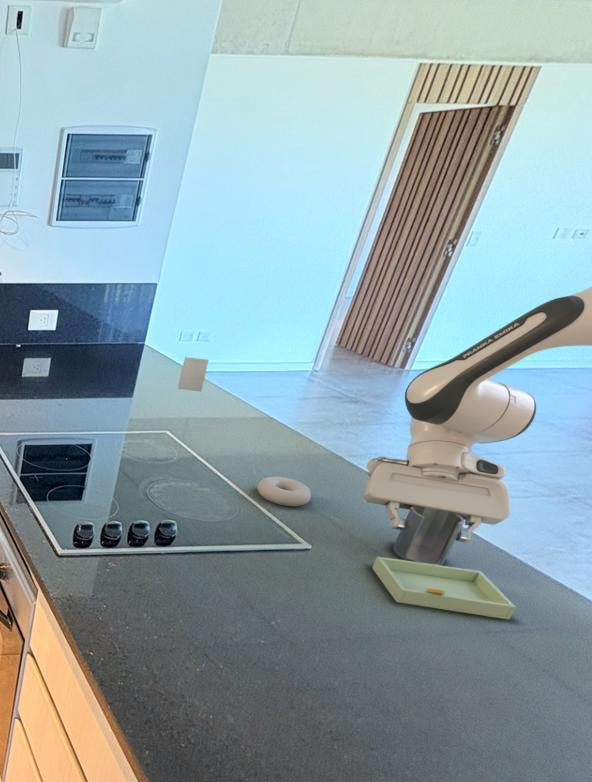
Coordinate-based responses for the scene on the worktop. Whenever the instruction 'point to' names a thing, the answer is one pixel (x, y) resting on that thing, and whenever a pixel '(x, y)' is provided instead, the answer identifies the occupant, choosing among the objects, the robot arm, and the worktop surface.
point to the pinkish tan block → (193, 374)
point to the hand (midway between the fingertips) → (429, 534)
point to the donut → (284, 491)
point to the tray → (442, 587)
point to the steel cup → (428, 535)
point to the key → (435, 591)
